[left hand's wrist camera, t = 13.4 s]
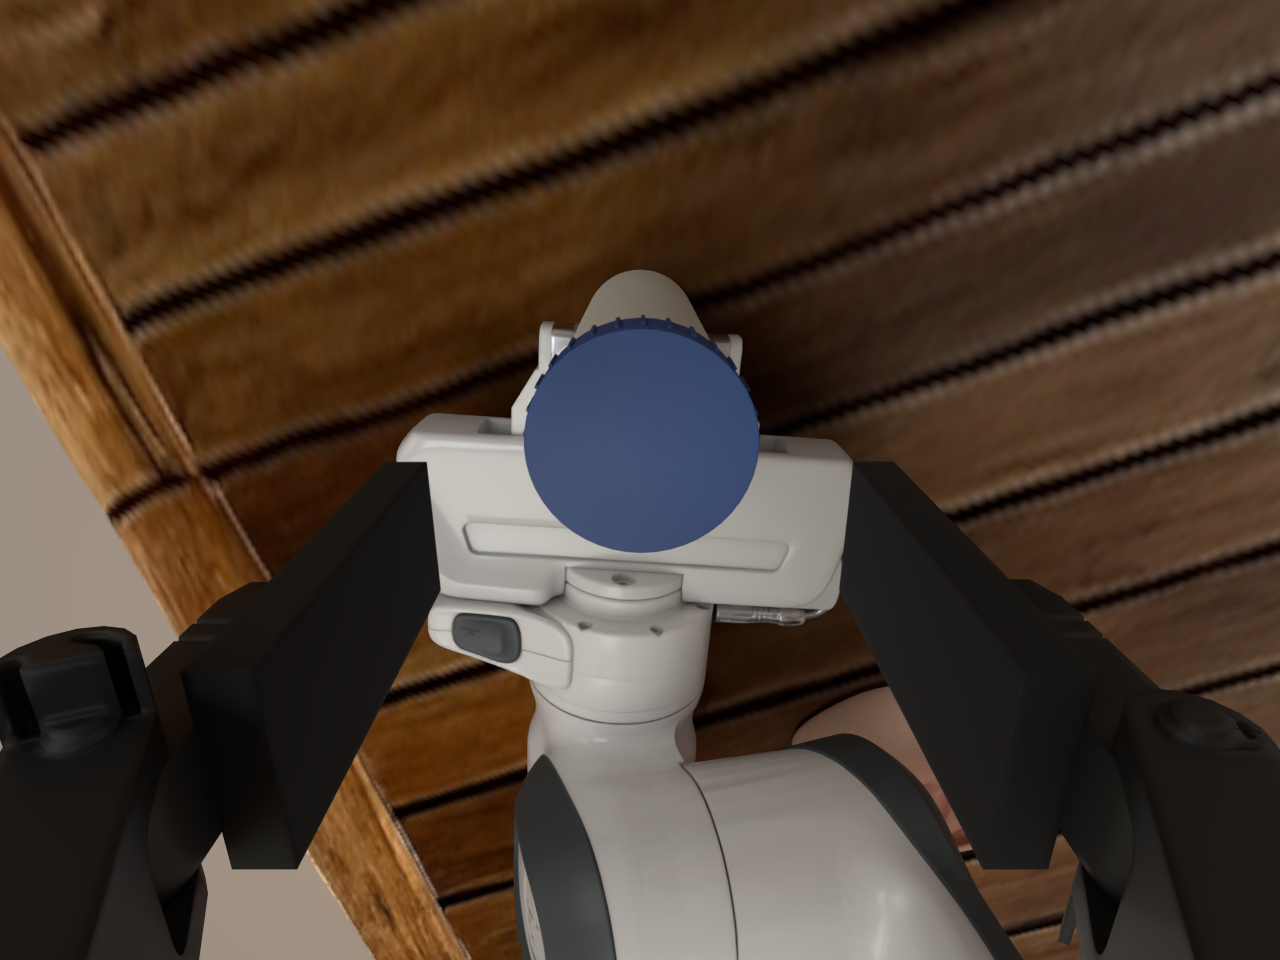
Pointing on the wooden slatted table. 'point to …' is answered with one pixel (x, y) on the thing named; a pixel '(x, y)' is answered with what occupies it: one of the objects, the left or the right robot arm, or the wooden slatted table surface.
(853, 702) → the anatomical model
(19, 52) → the wooden slatted table surface
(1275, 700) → the wooden slatted table surface
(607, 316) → the bottle
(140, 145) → the wooden slatted table surface
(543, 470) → the lid
